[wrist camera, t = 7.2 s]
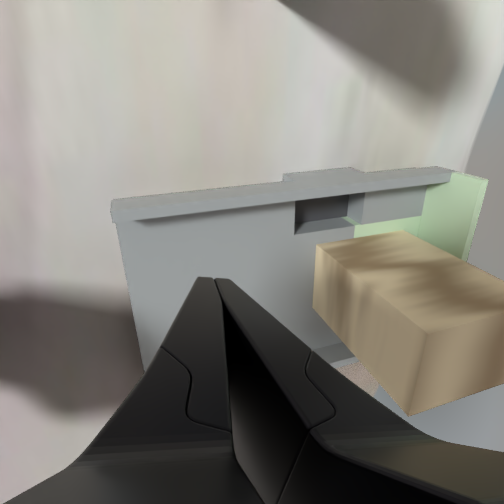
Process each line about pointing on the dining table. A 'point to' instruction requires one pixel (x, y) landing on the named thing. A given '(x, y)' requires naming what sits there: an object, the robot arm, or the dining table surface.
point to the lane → (280, 240)
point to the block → (413, 316)
